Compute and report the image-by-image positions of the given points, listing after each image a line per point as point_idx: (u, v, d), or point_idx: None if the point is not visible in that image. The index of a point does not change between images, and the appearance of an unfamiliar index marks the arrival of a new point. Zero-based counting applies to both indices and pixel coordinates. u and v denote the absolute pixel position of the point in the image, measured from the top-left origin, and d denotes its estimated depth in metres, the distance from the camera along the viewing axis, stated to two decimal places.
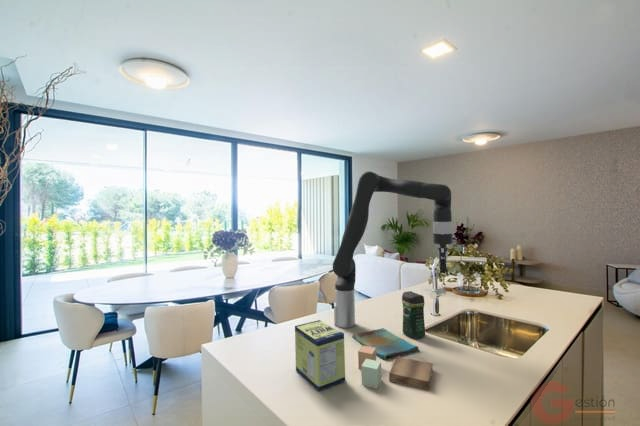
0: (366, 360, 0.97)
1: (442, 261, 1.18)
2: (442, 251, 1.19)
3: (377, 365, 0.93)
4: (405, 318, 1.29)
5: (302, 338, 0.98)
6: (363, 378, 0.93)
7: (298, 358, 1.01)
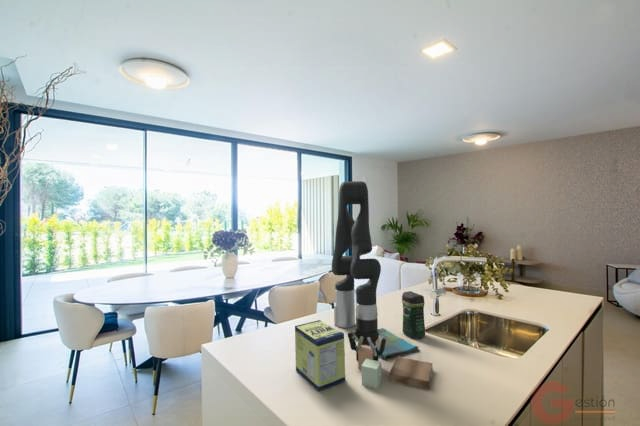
0: (366, 360, 0.97)
1: (382, 352, 1.02)
2: (385, 342, 1.01)
3: (377, 365, 0.93)
4: (405, 318, 1.29)
5: (302, 338, 0.98)
6: (363, 378, 0.93)
7: (298, 358, 1.01)
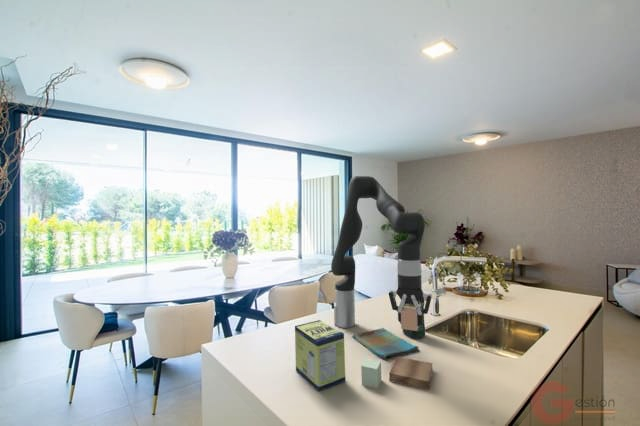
0: (366, 360, 0.97)
1: (427, 311, 0.96)
2: (430, 300, 0.95)
3: (377, 365, 0.93)
4: None
5: (302, 338, 0.98)
6: (363, 378, 0.93)
7: (298, 358, 1.01)
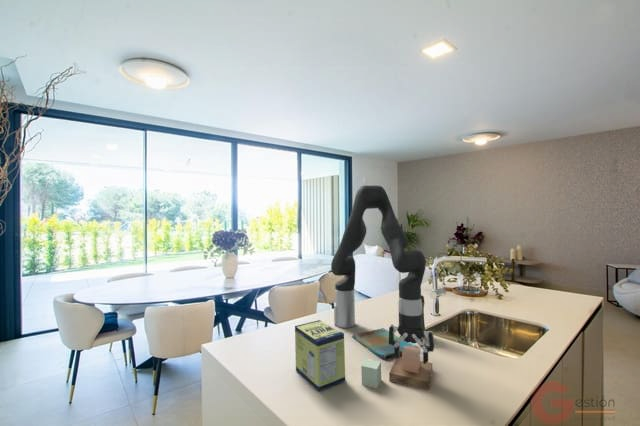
0: (366, 360, 0.97)
1: None
2: (432, 336, 0.95)
3: (377, 365, 0.93)
4: None
5: (302, 338, 0.98)
6: (363, 378, 0.93)
7: (298, 358, 1.01)
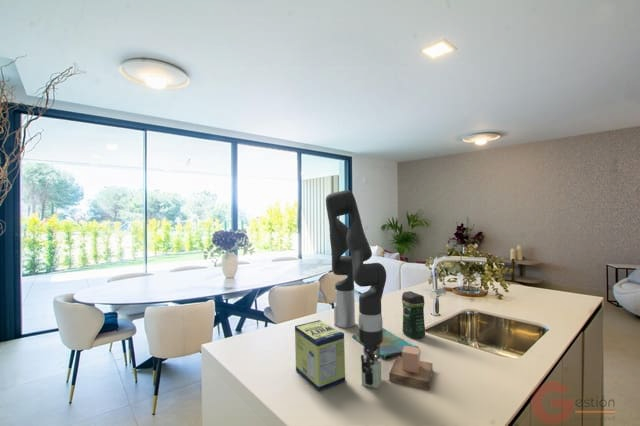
0: None
1: None
2: None
3: (377, 365, 0.93)
4: (405, 318, 1.29)
5: (302, 338, 0.98)
6: (363, 378, 0.93)
7: (298, 358, 1.01)
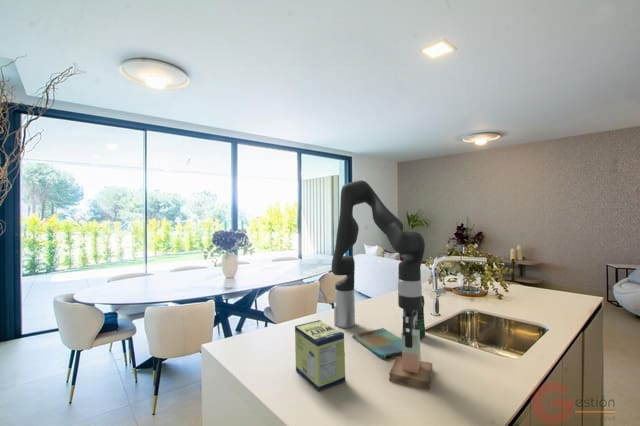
0: None
1: None
2: None
3: (417, 332, 0.97)
4: None
5: (302, 338, 0.98)
6: (403, 345, 0.97)
7: (298, 358, 1.01)
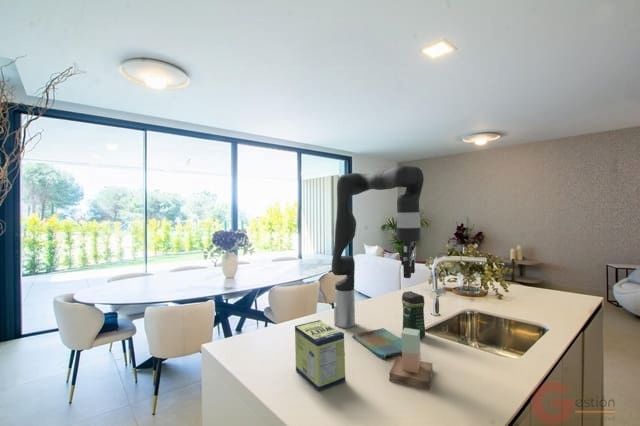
0: (405, 329, 1.00)
1: None
2: None
3: (417, 332, 0.97)
4: (405, 318, 1.29)
5: (302, 338, 0.98)
6: (403, 345, 0.97)
7: (298, 358, 1.01)
